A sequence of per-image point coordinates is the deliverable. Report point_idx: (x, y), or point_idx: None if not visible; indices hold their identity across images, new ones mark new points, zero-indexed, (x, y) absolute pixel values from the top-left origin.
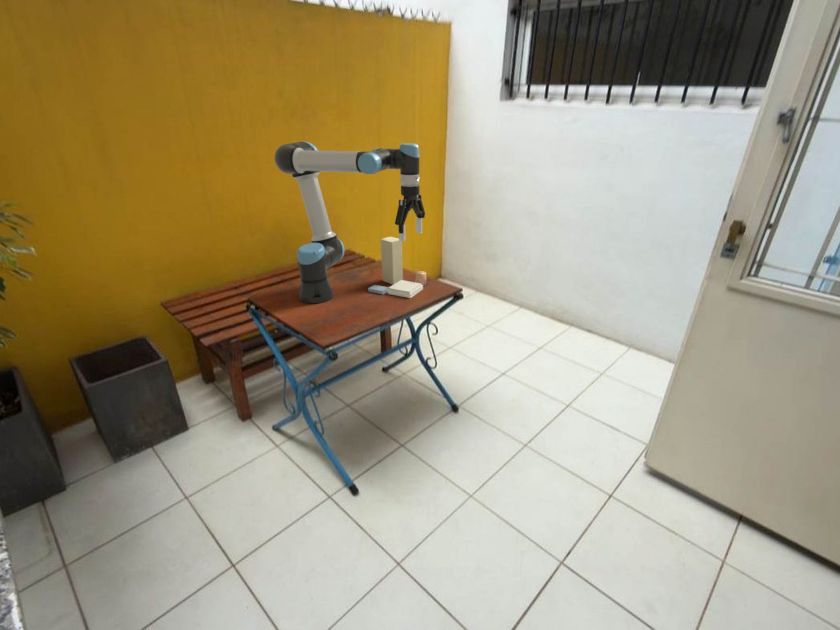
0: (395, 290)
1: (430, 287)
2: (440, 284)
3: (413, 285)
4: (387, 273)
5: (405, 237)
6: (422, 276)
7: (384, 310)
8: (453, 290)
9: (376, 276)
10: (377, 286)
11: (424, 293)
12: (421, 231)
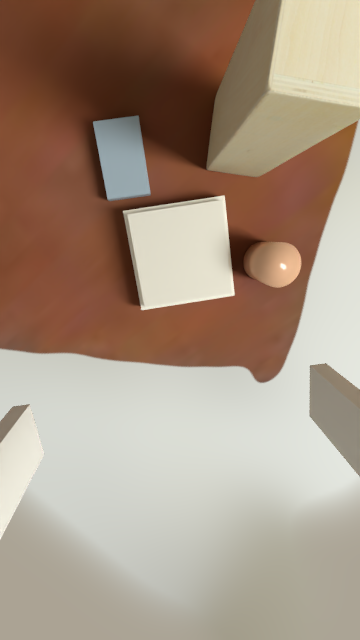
0: (133, 246)
1: (256, 304)
2: (295, 316)
3: (200, 280)
4: (217, 119)
5: (30, 478)
6: (262, 282)
7: (16, 299)
8: (270, 377)
9: None
10: (131, 143)
11: (201, 319)
12: (322, 426)
